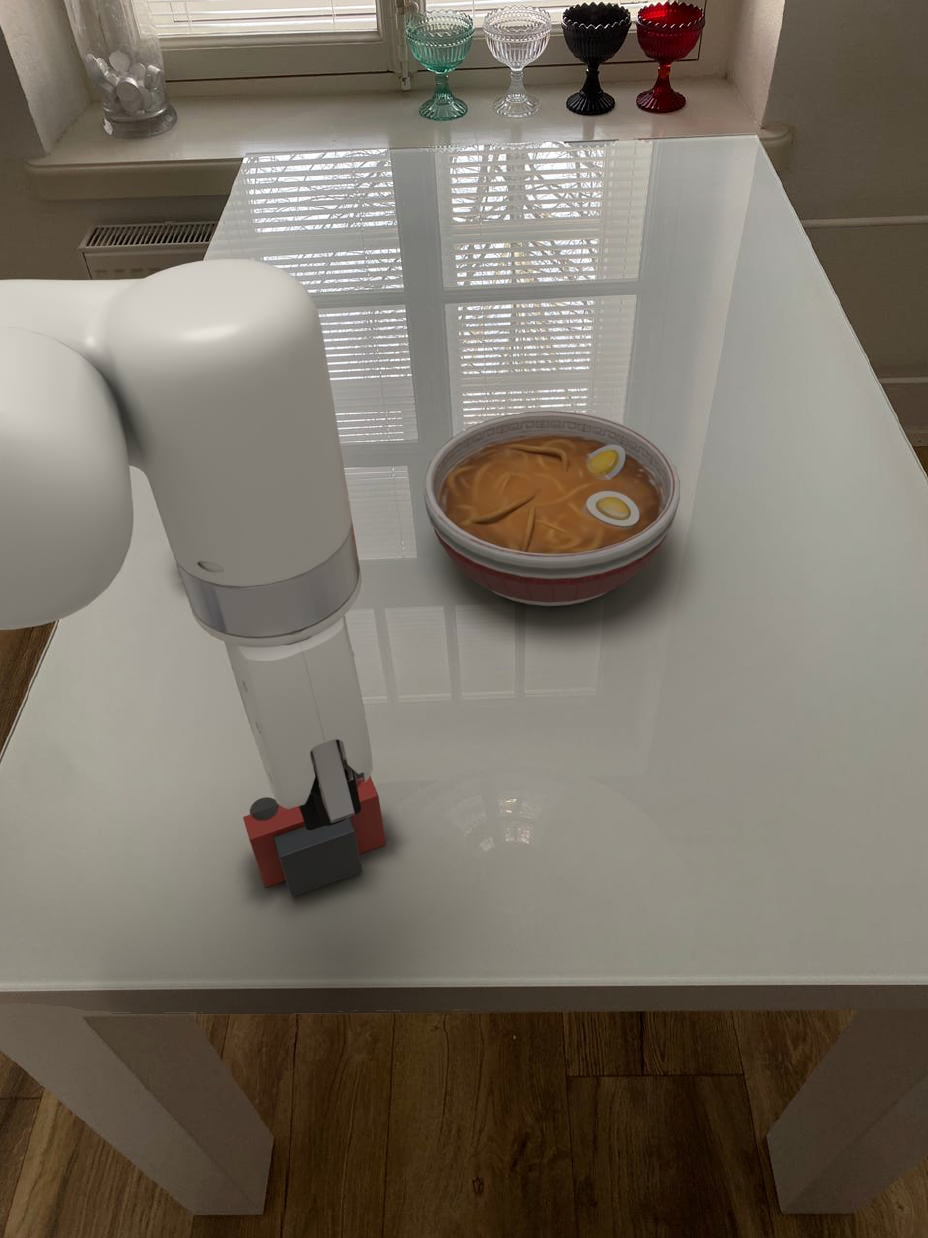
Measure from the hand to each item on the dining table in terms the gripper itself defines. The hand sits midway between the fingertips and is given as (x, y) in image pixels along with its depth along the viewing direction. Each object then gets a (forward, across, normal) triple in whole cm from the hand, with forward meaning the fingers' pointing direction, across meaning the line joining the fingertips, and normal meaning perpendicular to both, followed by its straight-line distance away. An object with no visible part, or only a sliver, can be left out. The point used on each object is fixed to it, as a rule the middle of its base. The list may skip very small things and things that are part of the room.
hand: (330, 811), depth 54 cm
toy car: (+15, -7, -1) cm, 16 cm away
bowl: (+15, -30, +28) cm, 44 cm away
